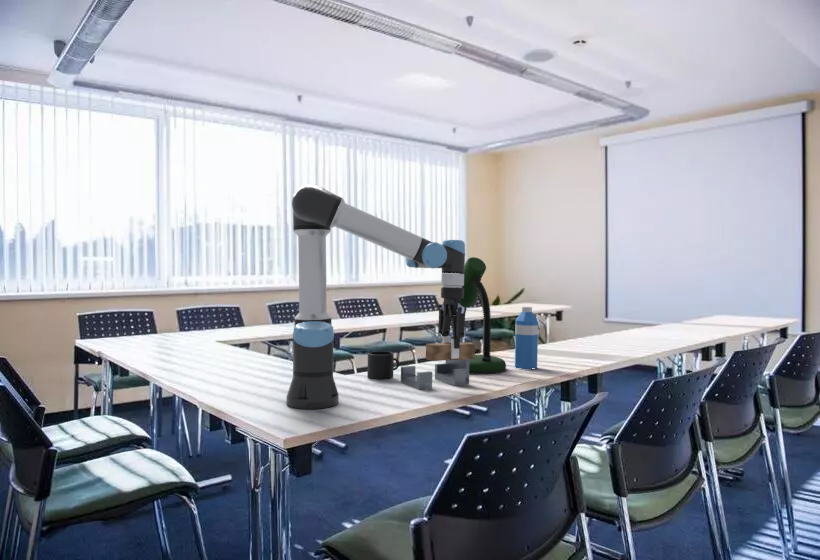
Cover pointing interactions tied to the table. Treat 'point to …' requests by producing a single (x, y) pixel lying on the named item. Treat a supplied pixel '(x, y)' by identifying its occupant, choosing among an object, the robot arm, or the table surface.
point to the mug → (381, 365)
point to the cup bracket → (453, 372)
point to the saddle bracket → (416, 378)
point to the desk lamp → (471, 289)
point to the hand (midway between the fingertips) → (450, 356)
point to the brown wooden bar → (449, 351)
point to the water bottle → (526, 339)
